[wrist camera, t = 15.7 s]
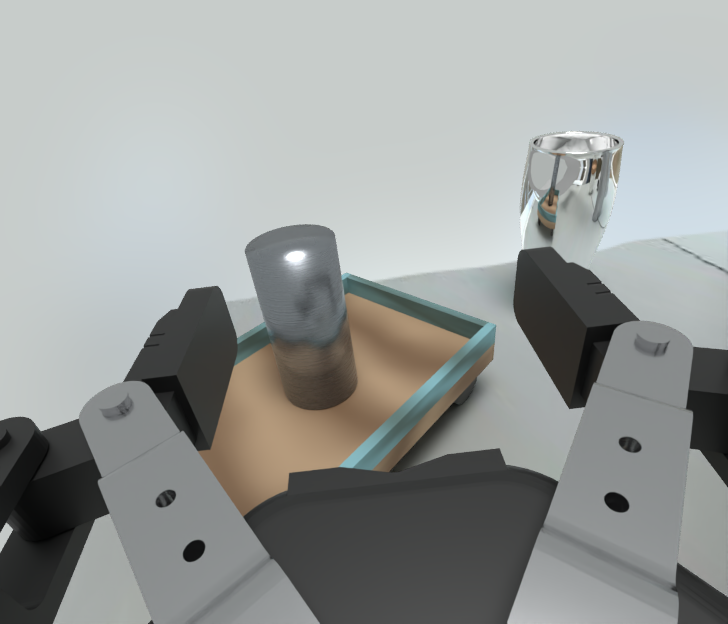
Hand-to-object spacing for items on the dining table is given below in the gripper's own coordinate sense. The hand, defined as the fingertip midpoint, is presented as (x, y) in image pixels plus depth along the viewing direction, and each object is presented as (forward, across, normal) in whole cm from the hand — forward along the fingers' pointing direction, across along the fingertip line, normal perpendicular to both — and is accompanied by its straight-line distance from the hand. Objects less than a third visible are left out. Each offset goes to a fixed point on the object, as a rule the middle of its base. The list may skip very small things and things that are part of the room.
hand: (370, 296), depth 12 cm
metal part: (+11, +4, +13) cm, 18 cm away
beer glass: (+24, -17, +19) cm, 34 cm away
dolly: (+11, +4, +18) cm, 22 cm away
